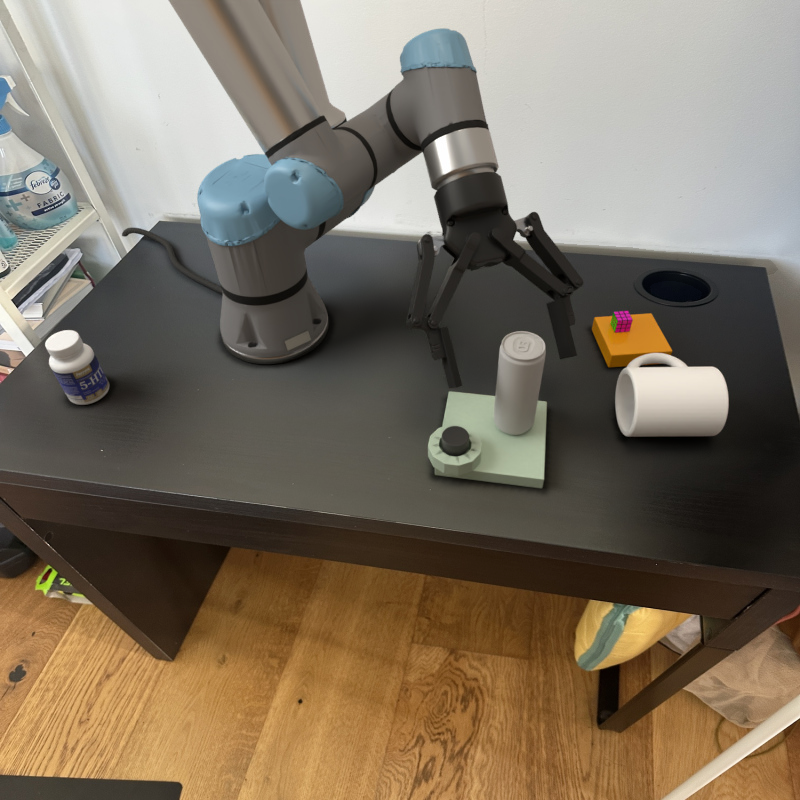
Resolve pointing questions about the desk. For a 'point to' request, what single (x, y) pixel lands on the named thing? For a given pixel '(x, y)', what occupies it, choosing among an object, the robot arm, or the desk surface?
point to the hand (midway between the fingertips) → (513, 372)
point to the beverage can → (518, 381)
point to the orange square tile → (628, 337)
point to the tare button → (455, 441)
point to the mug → (670, 398)
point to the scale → (490, 444)
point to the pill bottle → (76, 368)
